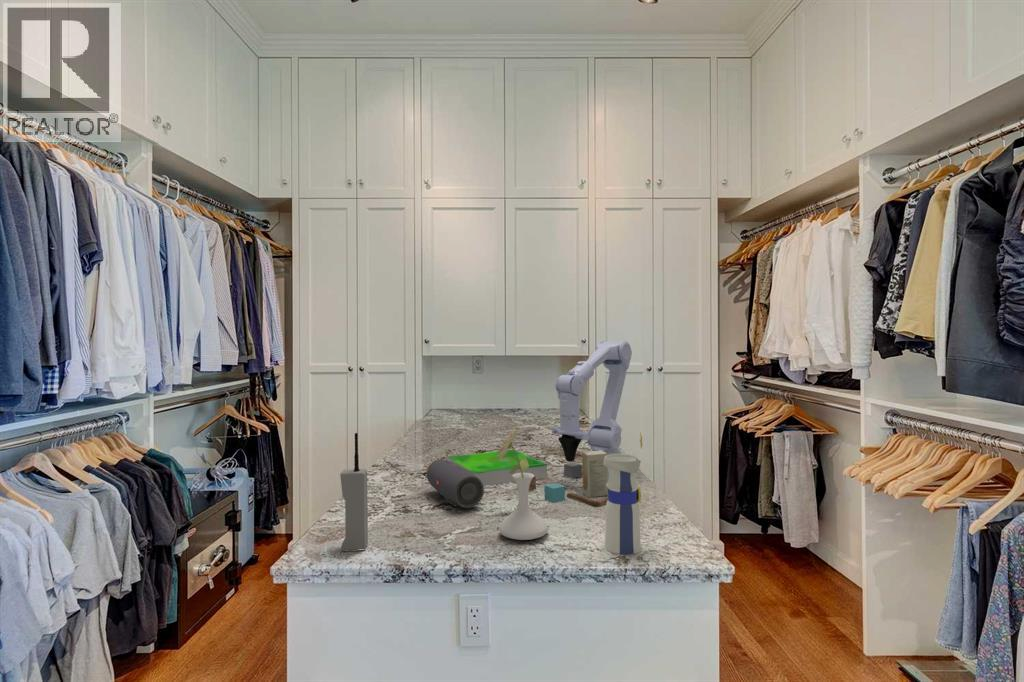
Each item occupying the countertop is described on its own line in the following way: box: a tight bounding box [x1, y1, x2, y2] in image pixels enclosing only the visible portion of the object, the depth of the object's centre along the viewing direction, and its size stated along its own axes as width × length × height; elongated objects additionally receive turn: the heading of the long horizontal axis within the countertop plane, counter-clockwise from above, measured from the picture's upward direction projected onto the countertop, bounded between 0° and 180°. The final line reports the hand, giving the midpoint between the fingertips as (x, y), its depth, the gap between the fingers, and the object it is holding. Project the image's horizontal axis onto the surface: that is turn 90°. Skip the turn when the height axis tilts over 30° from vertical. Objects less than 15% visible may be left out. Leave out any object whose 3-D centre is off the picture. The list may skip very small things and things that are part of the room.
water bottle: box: [603, 432, 643, 555], centre depth 119 cm, size 8×9×25 cm
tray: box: [447, 449, 548, 487], centre depth 183 cm, size 25×25×5 cm
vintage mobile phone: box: [339, 432, 369, 551], centre depth 120 cm, size 4×5×25 cm
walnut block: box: [529, 476, 537, 491], centre depth 164 cm, size 4×4×4 cm
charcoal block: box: [563, 461, 583, 479], centre depth 179 cm, size 4×4×4 cm
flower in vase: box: [497, 428, 549, 541], centre depth 126 cm, size 13×11×25 cm
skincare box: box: [581, 450, 608, 498], centre depth 158 cm, size 6×4×12 cm
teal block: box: [543, 482, 566, 504], centre depth 154 cm, size 4×4×4 cm
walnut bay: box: [566, 492, 608, 508], centre depth 155 cm, size 13×12×1 cm
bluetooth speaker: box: [426, 458, 485, 508], centre depth 153 cm, size 23×9×10 cm, turn 27°
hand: (570, 460), depth 165 cm, fingers closed
